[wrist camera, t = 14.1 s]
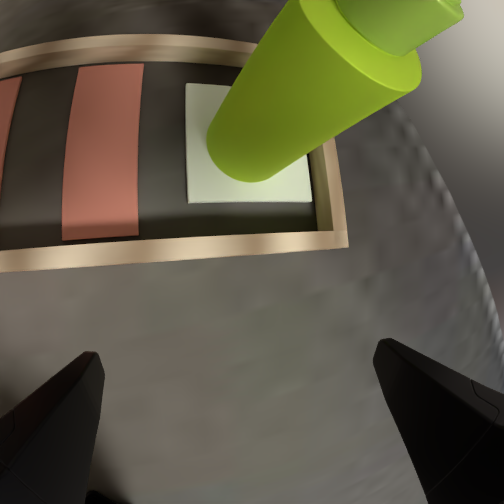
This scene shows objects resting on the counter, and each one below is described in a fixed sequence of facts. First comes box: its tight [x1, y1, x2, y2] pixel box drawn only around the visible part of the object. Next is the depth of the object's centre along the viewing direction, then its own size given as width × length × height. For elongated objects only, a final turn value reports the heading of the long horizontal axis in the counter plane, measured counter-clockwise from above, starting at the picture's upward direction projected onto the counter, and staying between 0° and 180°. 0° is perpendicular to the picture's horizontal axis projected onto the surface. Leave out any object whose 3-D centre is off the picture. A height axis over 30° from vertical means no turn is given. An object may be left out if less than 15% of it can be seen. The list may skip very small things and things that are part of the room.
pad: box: [185, 83, 312, 203], centre depth 21 cm, size 9×9×1 cm
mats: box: [0, 64, 144, 241], centre depth 15 cm, size 15×13×1 cm
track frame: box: [0, 34, 348, 273], centre depth 14 cm, size 44×16×2 cm, turn 95°
